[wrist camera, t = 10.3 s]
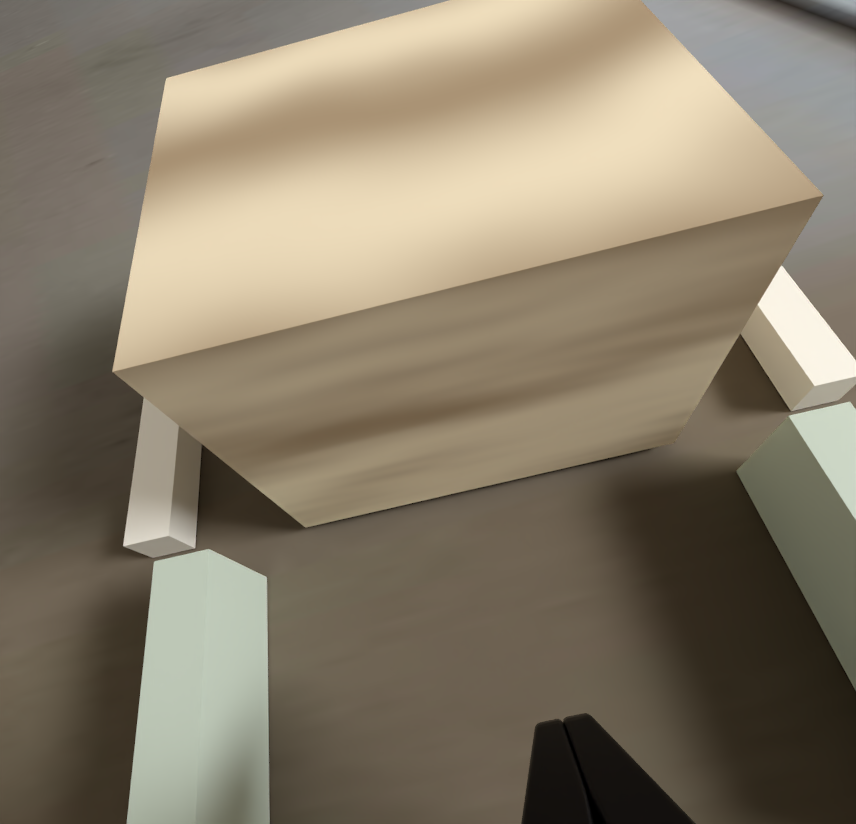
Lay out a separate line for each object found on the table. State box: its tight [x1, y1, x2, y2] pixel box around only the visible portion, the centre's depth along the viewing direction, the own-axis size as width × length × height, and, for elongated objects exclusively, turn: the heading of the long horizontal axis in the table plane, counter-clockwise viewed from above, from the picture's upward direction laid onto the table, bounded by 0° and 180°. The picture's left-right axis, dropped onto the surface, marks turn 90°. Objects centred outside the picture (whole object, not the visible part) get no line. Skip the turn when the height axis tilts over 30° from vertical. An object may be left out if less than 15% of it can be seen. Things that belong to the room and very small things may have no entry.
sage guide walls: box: [127, 402, 856, 824], centre depth 12 cm, size 9×18×4 cm, turn 100°
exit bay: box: [123, 265, 856, 558], centre depth 19 cm, size 14×23×2 cm, turn 100°
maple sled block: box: [112, 0, 823, 528], centre depth 15 cm, size 10×12×9 cm
